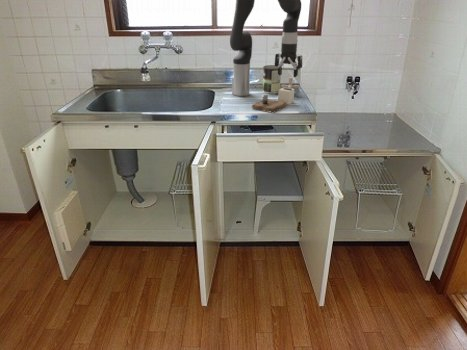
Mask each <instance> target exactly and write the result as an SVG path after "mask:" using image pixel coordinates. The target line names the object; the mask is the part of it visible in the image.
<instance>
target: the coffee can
mask: <svg viewBox="0 0 467 350" xmlns="http://www.w3.org/2000/svg"><path fill="white" fill-rule="evenodd" d="M262 68H263V72H262V73H263V74H262V75H263V76H262V77H263V78H262V92H263V93H264V94H271V95H273V94H278V93H279V90H280V89H281V76H282V75H279V74H278V67H277V66H275V64H268V65H264V66H263V67H262Z"/></svg>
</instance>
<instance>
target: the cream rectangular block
mask: <svg viewBox="0 0 467 350" xmlns="http://www.w3.org/2000/svg"><path fill="white" fill-rule="evenodd" d="M277 94H278V95H277V96H278V98H277V101H281V102H286V106H289V105H291V104H293V103H294V99H295V97H294V96H295V88H292V89H290V88H280V90H279V93H277Z"/></svg>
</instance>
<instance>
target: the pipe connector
mask: <svg viewBox="0 0 467 350" xmlns="http://www.w3.org/2000/svg"><path fill="white" fill-rule="evenodd" d="M282 88H290V89H300V84H293V77H292V76H290V77H288V84H281V83H280V89H282Z"/></svg>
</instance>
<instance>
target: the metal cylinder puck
mask: <svg viewBox="0 0 467 350" xmlns="http://www.w3.org/2000/svg"><path fill="white" fill-rule="evenodd" d="M268 99H269V95H268V94H263V95H262V100H263V101H262V100H261V101H262V104H268Z"/></svg>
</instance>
